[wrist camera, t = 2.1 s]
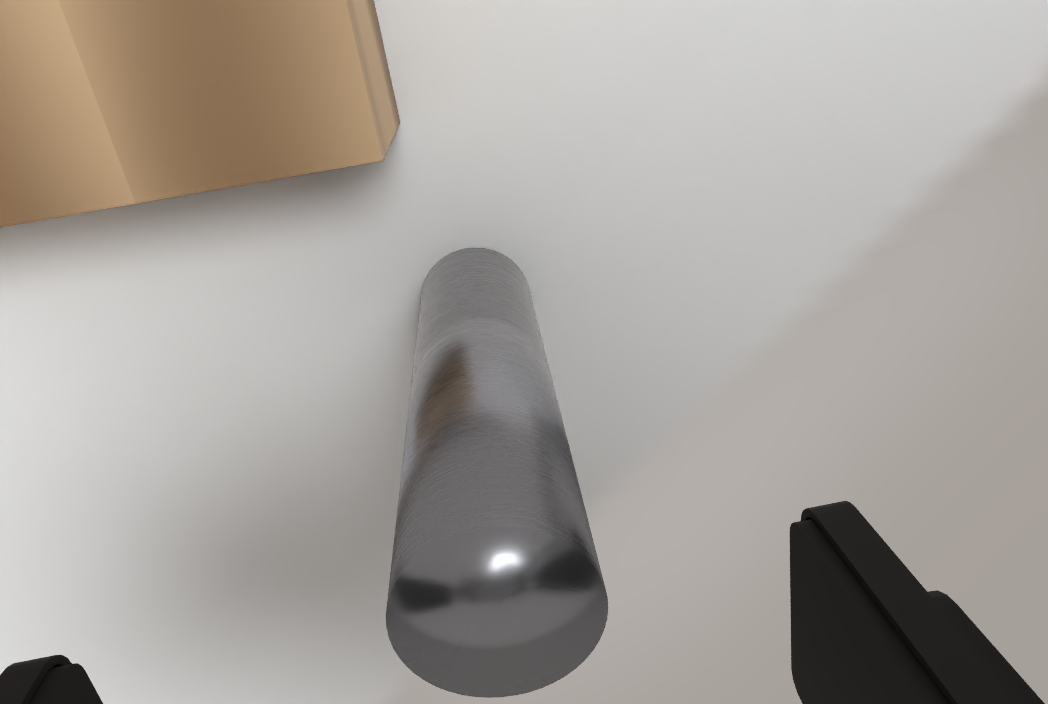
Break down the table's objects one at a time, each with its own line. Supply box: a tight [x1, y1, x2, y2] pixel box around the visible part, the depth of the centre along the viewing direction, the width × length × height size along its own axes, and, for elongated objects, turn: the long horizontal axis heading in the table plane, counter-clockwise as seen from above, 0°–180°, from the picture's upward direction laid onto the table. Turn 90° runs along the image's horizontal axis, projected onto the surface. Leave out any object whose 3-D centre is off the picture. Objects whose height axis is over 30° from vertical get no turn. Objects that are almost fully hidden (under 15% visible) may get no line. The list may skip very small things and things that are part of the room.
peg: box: [386, 248, 608, 697], centre depth 16 cm, size 3×3×12 cm
